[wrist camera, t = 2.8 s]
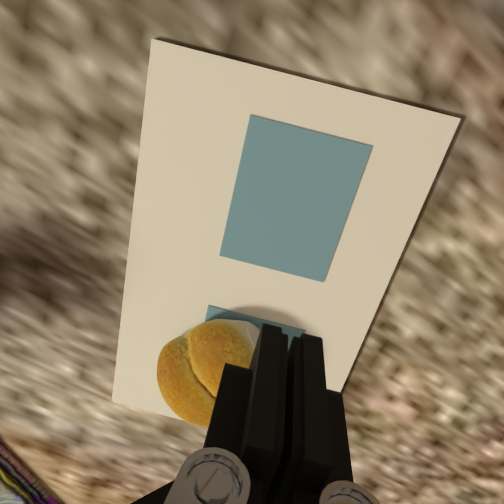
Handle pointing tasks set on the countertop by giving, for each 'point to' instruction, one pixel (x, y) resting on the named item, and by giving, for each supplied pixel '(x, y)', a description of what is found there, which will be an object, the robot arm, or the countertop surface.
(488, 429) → the countertop surface
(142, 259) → the placemat
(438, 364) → the countertop surface
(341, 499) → the robot arm
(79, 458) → the countertop surface
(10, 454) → the dish towel
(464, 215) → the countertop surface
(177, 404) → the bread roll
